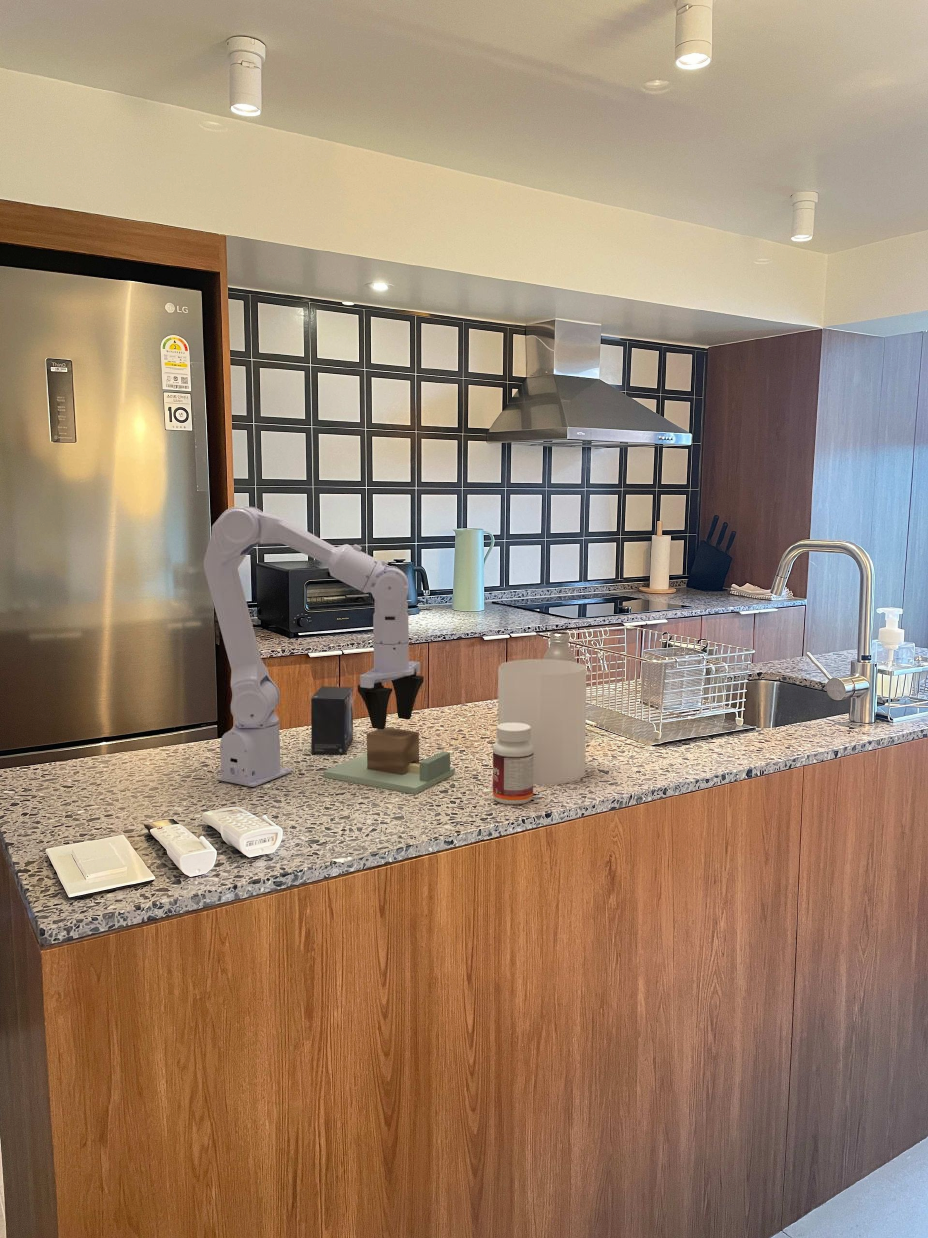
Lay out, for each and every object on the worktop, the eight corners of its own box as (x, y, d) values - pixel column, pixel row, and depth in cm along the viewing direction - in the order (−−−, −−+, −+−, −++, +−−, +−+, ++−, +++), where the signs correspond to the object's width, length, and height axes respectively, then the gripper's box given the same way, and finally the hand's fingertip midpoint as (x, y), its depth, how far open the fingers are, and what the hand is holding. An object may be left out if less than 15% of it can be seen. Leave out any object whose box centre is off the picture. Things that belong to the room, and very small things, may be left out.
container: (489, 763, 153) (489, 661, 151) (566, 757, 156) (567, 657, 154) (514, 789, 139) (514, 676, 137) (598, 781, 143) (600, 672, 140)
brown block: (402, 775, 142) (402, 739, 142) (367, 769, 146) (366, 733, 145) (419, 767, 147) (418, 732, 146) (384, 761, 150) (384, 727, 149)
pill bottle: (490, 793, 137) (490, 721, 135) (529, 791, 137) (530, 720, 136) (495, 806, 130) (495, 732, 129) (536, 805, 131) (537, 730, 130)
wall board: (415, 794, 136) (415, 769, 135) (323, 777, 145) (322, 753, 144) (454, 773, 146) (454, 750, 146) (366, 758, 155) (365, 736, 155)
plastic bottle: (538, 738, 169) (539, 634, 166) (545, 729, 175) (546, 629, 173) (571, 740, 167) (573, 636, 164) (577, 731, 173) (579, 631, 171)
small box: (346, 755, 158) (345, 697, 156) (310, 755, 158) (308, 697, 156) (355, 739, 168) (354, 685, 167) (321, 739, 168) (319, 685, 167)
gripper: (386, 650, 135) (386, 736, 137) (435, 638, 148) (435, 717, 150) (349, 646, 139) (350, 730, 140) (400, 634, 151) (400, 712, 153)
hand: (391, 723), depth 145 cm, fingers open, 7 cm apart
